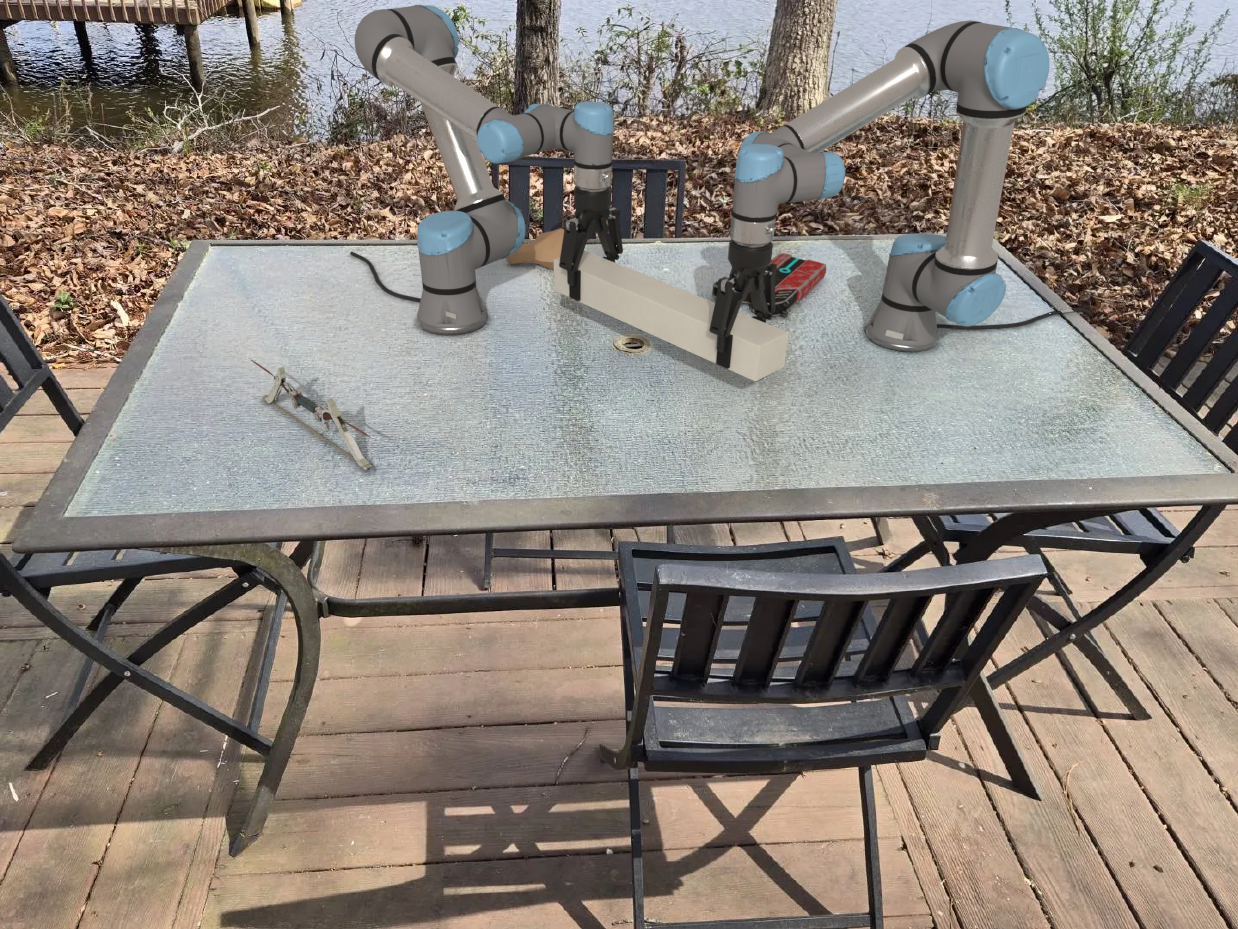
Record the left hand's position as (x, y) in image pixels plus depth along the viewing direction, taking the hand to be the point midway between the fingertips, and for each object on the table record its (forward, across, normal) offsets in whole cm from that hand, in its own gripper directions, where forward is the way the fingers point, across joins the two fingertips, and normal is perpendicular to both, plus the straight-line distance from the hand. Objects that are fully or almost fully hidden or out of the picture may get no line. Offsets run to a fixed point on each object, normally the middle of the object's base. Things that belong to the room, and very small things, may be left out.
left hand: (591, 292), depth 187 cm
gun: (+10, +51, -10) cm, 53 cm away
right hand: (0, 0, -40) cm, 40 cm away
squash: (+11, +20, +39) cm, 45 cm away
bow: (+10, -64, +3) cm, 65 cm away
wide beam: (0, 0, -20) cm, 20 cm away
